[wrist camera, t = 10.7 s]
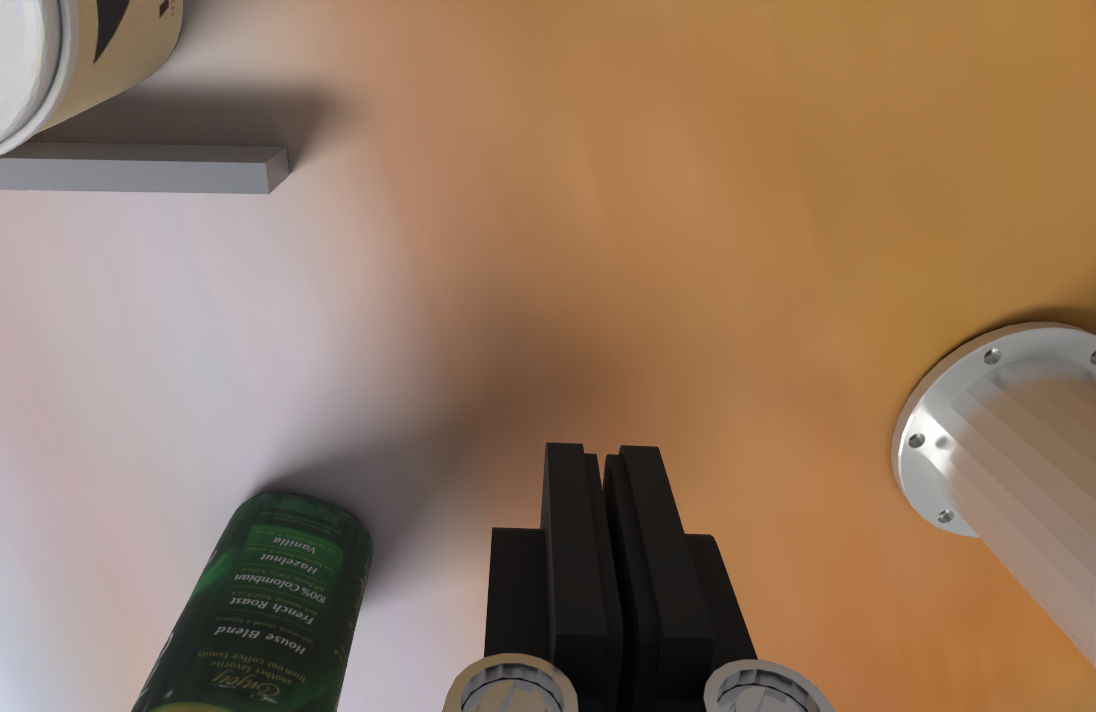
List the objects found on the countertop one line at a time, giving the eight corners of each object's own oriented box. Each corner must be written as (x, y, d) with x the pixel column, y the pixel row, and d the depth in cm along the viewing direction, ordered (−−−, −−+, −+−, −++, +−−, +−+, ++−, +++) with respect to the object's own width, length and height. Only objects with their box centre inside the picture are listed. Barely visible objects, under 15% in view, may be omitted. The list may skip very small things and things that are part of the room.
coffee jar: (242, 466, 40) (65, 809, 24) (392, 513, 42) (326, 863, 25) (195, 605, 44) (11, 989, 27) (335, 643, 46) (244, 1026, 29)
